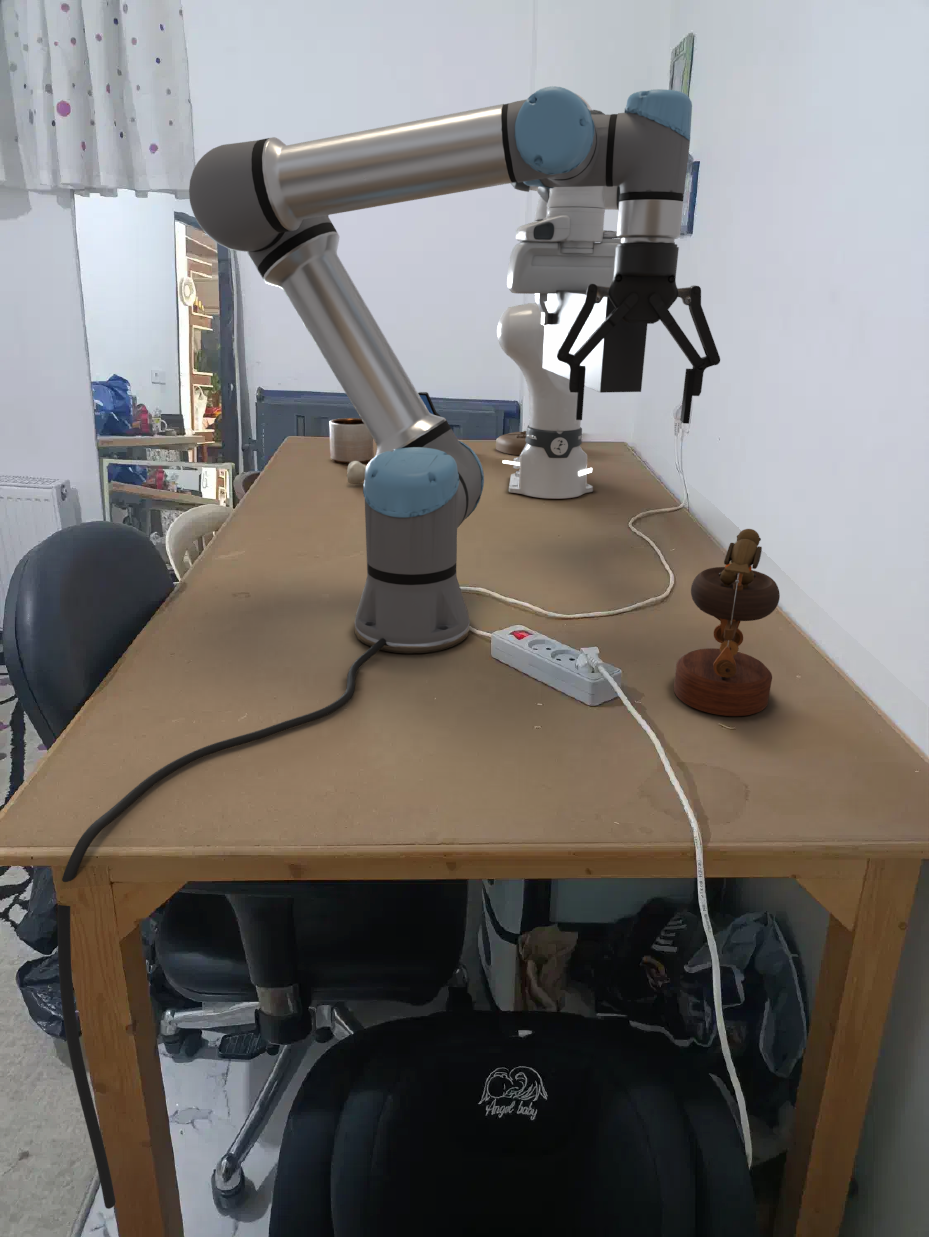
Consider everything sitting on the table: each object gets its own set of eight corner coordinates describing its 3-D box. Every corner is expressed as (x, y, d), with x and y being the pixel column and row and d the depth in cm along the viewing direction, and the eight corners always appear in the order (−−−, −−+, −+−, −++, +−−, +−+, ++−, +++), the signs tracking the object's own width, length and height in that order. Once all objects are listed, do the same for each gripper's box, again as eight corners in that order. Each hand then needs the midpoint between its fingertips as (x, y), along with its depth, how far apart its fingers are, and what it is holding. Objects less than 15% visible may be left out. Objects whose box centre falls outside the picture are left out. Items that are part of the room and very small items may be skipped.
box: (641, 392, 117) (650, 297, 112) (600, 392, 116) (607, 297, 111) (576, 367, 142) (581, 289, 137) (542, 368, 141) (546, 289, 136)
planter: (327, 456, 217) (325, 418, 214) (369, 454, 220) (368, 417, 217) (334, 465, 208) (332, 425, 204) (377, 463, 211) (376, 424, 207)
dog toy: (434, 479, 195) (434, 457, 194) (437, 485, 190) (437, 463, 188) (346, 480, 192) (345, 459, 190) (347, 487, 187) (346, 464, 185)
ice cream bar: (502, 465, 211) (502, 448, 209) (493, 443, 237) (494, 428, 235) (586, 465, 212) (587, 448, 210) (568, 444, 238) (569, 429, 236)
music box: (786, 726, 90) (801, 547, 83) (681, 727, 92) (686, 551, 84) (757, 665, 104) (767, 507, 97) (666, 666, 106) (669, 511, 98)
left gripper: (746, 244, 104) (724, 418, 112) (544, 241, 106) (536, 412, 115) (760, 242, 97) (735, 428, 105) (543, 239, 100) (534, 421, 108)
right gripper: (630, 231, 135) (622, 323, 140) (505, 228, 131) (502, 323, 136) (645, 231, 129) (637, 326, 135) (516, 227, 125) (513, 326, 131)
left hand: (631, 420), depth 110 cm, fingers open, 13 cm apart
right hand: (568, 324), depth 135 cm, fingers closed on box, 6 cm apart
